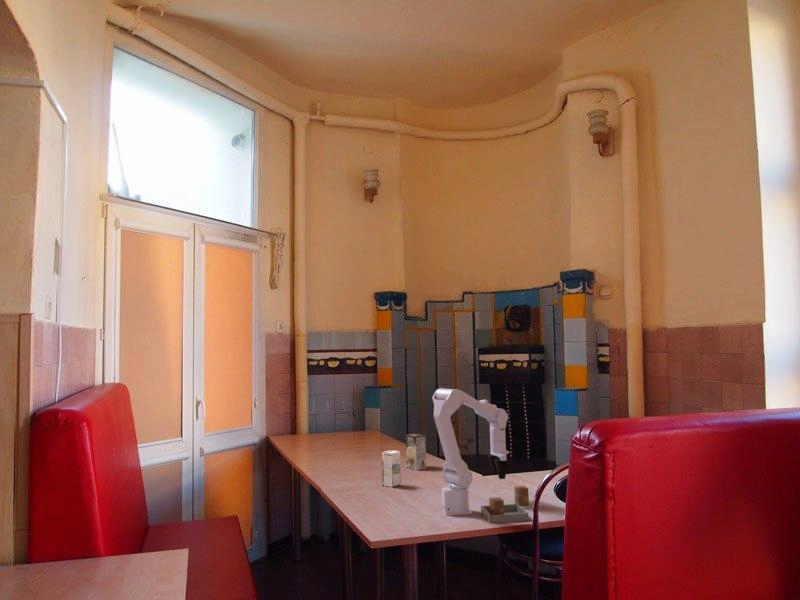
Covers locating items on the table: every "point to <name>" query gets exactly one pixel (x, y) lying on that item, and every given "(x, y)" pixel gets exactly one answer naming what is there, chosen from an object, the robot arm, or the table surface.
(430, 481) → the table surface
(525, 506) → the mat
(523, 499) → the label block
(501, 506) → the plain block
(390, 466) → the syrup box
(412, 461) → the coffee box
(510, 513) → the bin
